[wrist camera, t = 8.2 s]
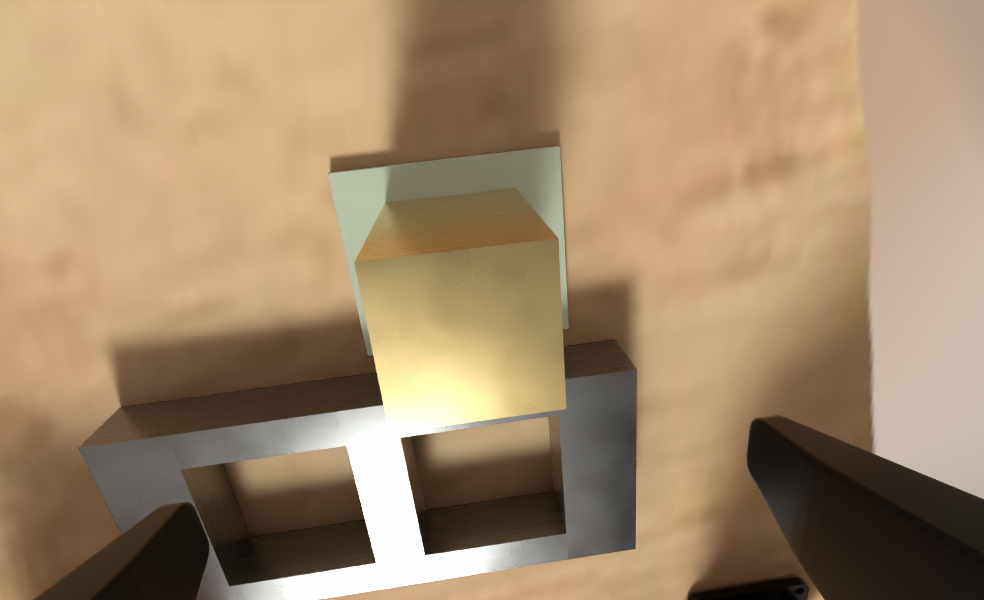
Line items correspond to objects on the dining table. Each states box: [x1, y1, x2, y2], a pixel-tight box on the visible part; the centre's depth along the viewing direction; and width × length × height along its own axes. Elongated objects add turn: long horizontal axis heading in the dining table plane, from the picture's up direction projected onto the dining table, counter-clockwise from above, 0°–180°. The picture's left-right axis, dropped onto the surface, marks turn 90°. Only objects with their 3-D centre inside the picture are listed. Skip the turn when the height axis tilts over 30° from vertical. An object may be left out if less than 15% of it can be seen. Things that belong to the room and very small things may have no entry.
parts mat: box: [328, 146, 569, 356], centre depth 19 cm, size 8×7×1 cm
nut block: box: [354, 188, 566, 433], centre depth 15 cm, size 5×5×7 cm
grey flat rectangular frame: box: [79, 340, 637, 600], centre depth 21 cm, size 20×9×2 cm, turn 96°
